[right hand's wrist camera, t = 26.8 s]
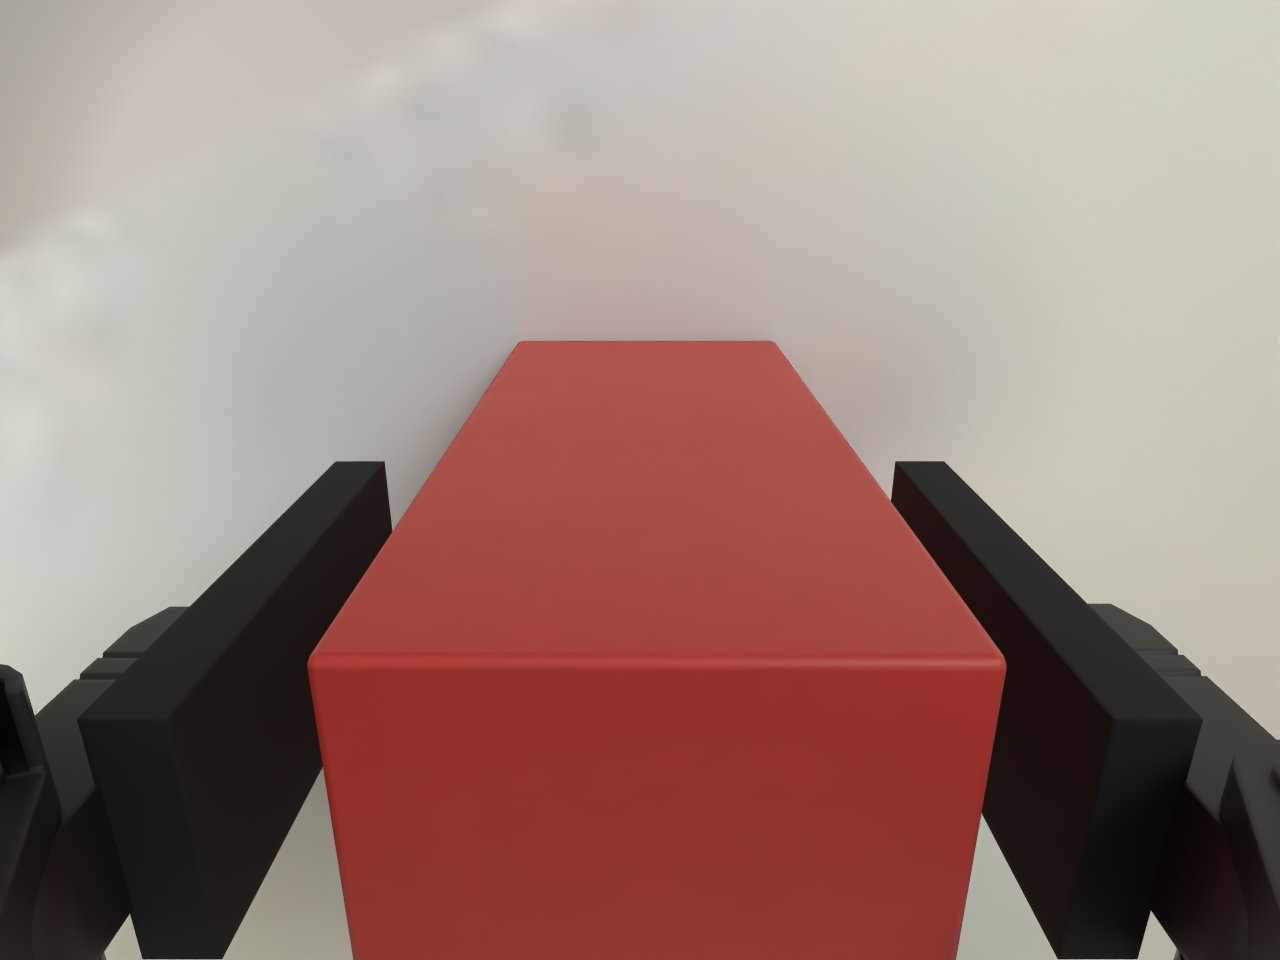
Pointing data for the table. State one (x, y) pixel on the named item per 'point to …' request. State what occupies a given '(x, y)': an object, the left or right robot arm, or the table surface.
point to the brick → (654, 683)
